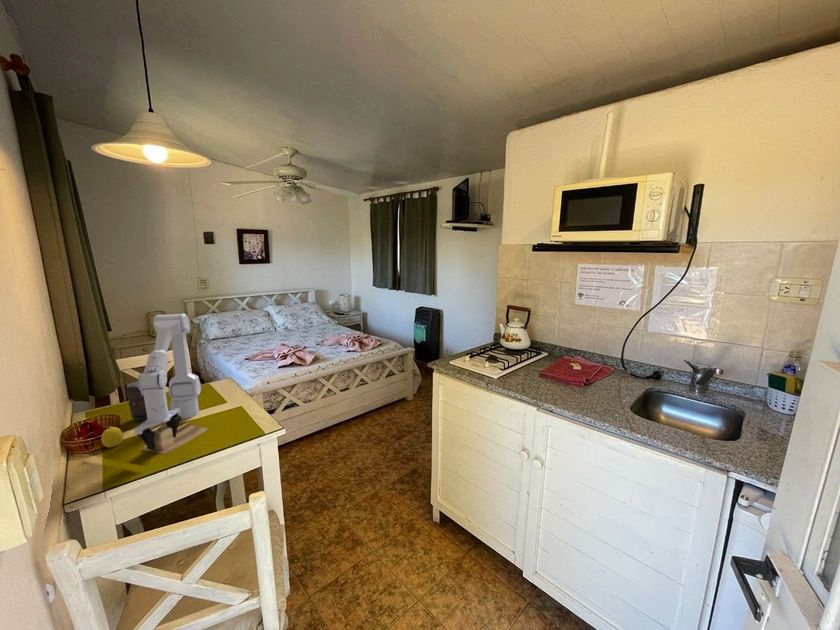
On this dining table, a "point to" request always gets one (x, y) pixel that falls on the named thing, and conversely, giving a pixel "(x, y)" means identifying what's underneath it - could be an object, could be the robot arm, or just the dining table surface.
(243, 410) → the dining table surface
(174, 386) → the robot arm
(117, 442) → the lemon
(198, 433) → the board
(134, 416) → the camera lens
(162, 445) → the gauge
